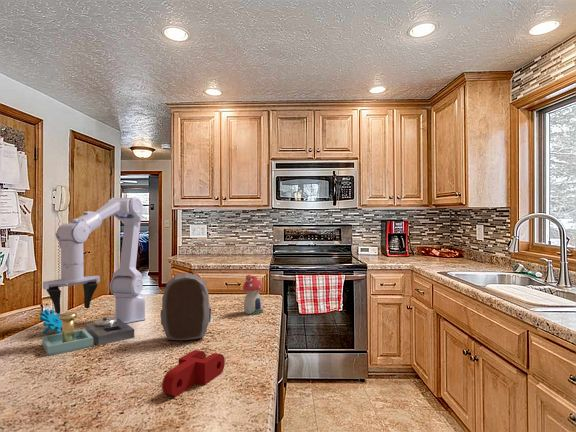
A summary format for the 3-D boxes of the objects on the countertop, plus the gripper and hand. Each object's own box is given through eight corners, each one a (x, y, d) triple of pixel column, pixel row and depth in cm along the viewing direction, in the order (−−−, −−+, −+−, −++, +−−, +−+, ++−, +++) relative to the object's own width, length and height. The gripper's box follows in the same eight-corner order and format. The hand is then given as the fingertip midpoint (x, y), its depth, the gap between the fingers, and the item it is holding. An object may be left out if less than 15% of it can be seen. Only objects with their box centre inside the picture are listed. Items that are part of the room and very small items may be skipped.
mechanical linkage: (200, 367, 90) (199, 347, 90) (224, 372, 87) (224, 351, 87) (153, 396, 76) (153, 372, 76) (181, 403, 73) (181, 378, 73)
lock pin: (78, 340, 108) (78, 311, 108) (75, 345, 104) (74, 315, 104) (61, 342, 107) (61, 312, 107) (57, 347, 102) (57, 316, 102)
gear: (56, 333, 111) (36, 309, 113) (42, 347, 111) (22, 323, 112) (79, 327, 122) (60, 305, 124) (65, 340, 122) (47, 318, 123)
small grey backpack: (158, 344, 106) (158, 275, 107) (163, 335, 115) (163, 271, 115) (211, 341, 109) (211, 273, 109) (212, 332, 117) (212, 269, 117)
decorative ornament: (248, 316, 136) (248, 276, 136) (238, 313, 140) (238, 274, 141) (267, 312, 142) (267, 273, 142) (257, 309, 147) (256, 271, 147)
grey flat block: (118, 325, 125) (118, 312, 125) (134, 337, 112) (134, 323, 112) (85, 331, 118) (85, 318, 118) (98, 344, 106) (98, 330, 106)
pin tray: (84, 337, 113) (84, 329, 113) (93, 346, 104) (93, 337, 104) (41, 345, 106) (41, 336, 106) (47, 356, 97) (47, 346, 97)
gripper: (93, 260, 116) (94, 303, 116) (39, 265, 105) (39, 312, 105) (102, 262, 111) (102, 307, 111) (46, 267, 100) (46, 317, 100)
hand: (72, 310), depth 108 cm, fingers open, 7 cm apart
